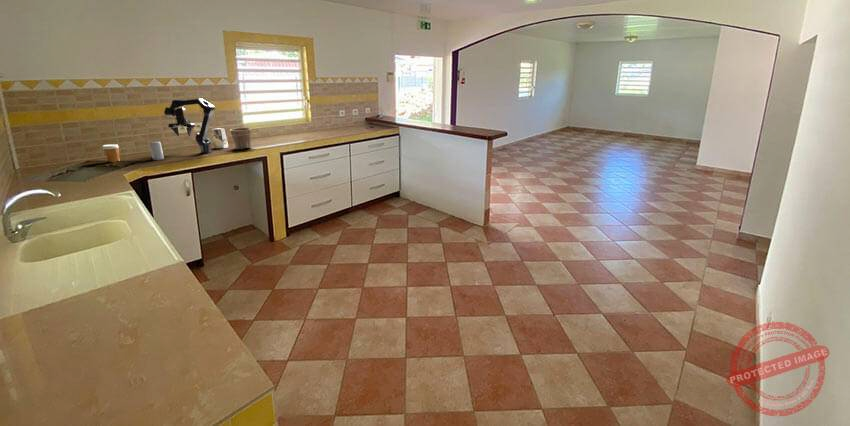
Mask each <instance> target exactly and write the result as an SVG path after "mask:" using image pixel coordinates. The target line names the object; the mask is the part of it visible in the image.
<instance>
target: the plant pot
mask: <svg viewBox="0 0 850 426" xmlns="http://www.w3.org/2000/svg"><path fill="white" fill-rule="evenodd" d="M229 131H230V135H232V140H233V144H234V147H235V149H236V150H246V149H245V148H249V149H251V148H252V144H251V127H236V128H230V129H229Z"/></svg>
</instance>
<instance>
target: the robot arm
mask: <svg viewBox="0 0 850 426" xmlns="http://www.w3.org/2000/svg"><path fill="white" fill-rule="evenodd" d="M190 105H199V107H200V108H201V109H202V110H203V119H202V123H201V126H200V131H199V132H197V133H196V135H195V142H196V143H197V145H198V146H199V148H200V154H210V153H212V152H213V150H212V149H211V144H212V141H211V140H210V139H209V137H208V130H209V125H210V122H211V119H212V116H213V115H214V114H215V111H216V106H215V105H213V104H211V103H210V102H208V101H206V100H205V99H203V98H202V97H201V98H195V99H194V98H193V99H172V101H171V104H170V106H167V107H164V111H163V112H164V115H165V116H166V117H174V120H176V122H171V123H168V127H167V128H170V130H172V131H173V132H174V134H175V135H176V136H177V137H180V134H179V127H186V131H187V135H188V137H191V135H192V129H194V128H195V127H196V124H195V123H193V122H191V120H189V119H187V118H186V117H185V114H184V111H186V108H184V107H185V106H190Z"/></svg>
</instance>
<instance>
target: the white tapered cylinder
mask: <svg viewBox="0 0 850 426" xmlns="http://www.w3.org/2000/svg"><path fill="white" fill-rule="evenodd" d="M148 145H149V149H150V154H151V157H152V161H160V160H164V159H165V157H164V153H163V148H162V143H161V141H149V142H148Z"/></svg>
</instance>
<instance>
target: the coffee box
mask: <svg viewBox="0 0 850 426" xmlns="http://www.w3.org/2000/svg"><path fill="white" fill-rule="evenodd" d="M211 134H212V139H213V145H214V149H227V148H229V143H228V142H229V141H228V137H227V132H226V128H224V127H223V128H220V127H219V128H217V127H216V128H211Z"/></svg>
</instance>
